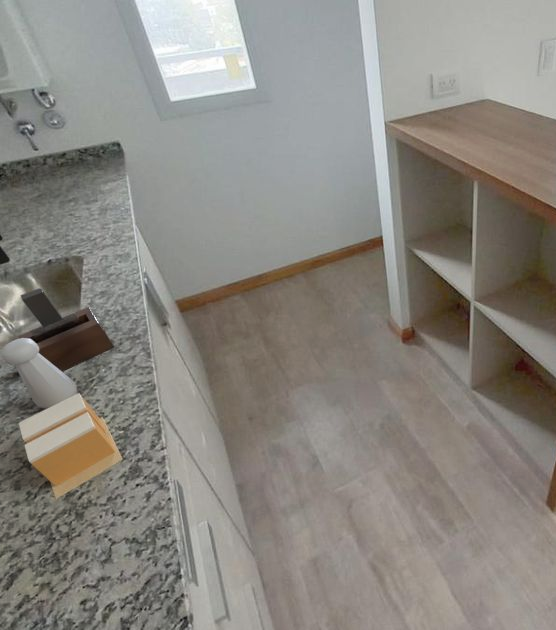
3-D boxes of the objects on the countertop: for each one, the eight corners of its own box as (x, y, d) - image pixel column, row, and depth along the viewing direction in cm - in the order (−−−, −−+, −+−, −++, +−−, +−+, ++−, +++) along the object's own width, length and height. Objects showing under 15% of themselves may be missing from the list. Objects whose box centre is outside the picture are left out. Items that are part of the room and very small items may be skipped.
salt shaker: (58, 420, 70) (5, 362, 62) (35, 411, 72) (-19, 353, 64) (91, 393, 75) (45, 336, 66) (68, 385, 76) (22, 328, 68)
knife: (56, 365, 81) (7, 305, 72) (54, 360, 82) (5, 300, 73) (98, 346, 84) (56, 286, 76) (95, 341, 85) (54, 282, 77)
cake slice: (55, 486, 60) (28, 461, 56) (50, 470, 62) (24, 444, 58) (115, 451, 64) (93, 426, 60) (108, 437, 66) (87, 411, 62)
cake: (58, 502, 59) (27, 474, 55) (43, 453, 66) (14, 424, 61) (125, 462, 63) (101, 433, 59) (105, 419, 70) (81, 391, 66)
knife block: (45, 379, 78) (24, 355, 74) (38, 359, 82) (18, 335, 79) (114, 347, 84) (98, 323, 80) (104, 330, 88) (88, 306, 84)
